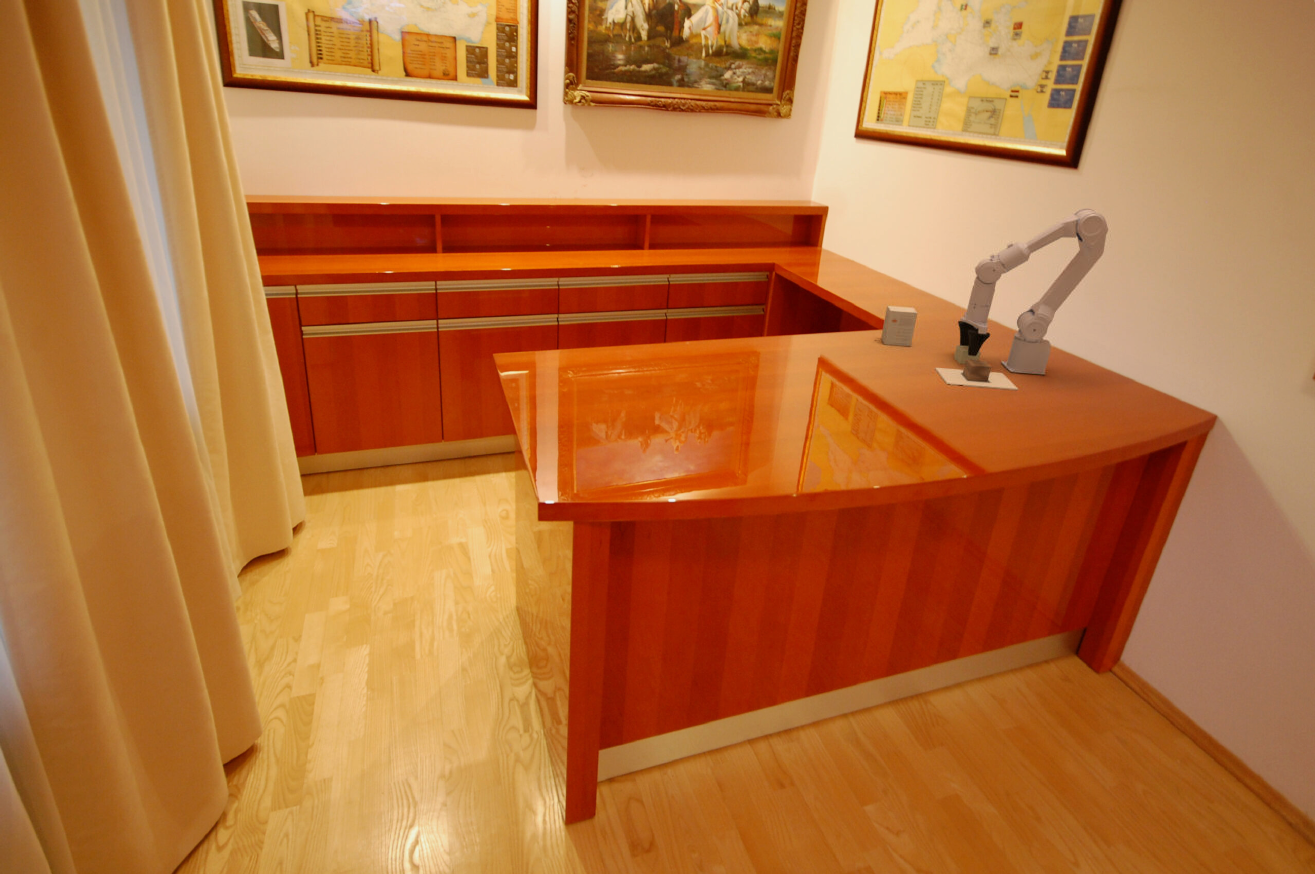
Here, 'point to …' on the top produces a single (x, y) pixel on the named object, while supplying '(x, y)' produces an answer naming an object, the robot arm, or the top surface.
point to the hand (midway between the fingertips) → (967, 351)
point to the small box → (899, 326)
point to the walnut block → (976, 370)
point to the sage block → (964, 354)
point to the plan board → (959, 379)
